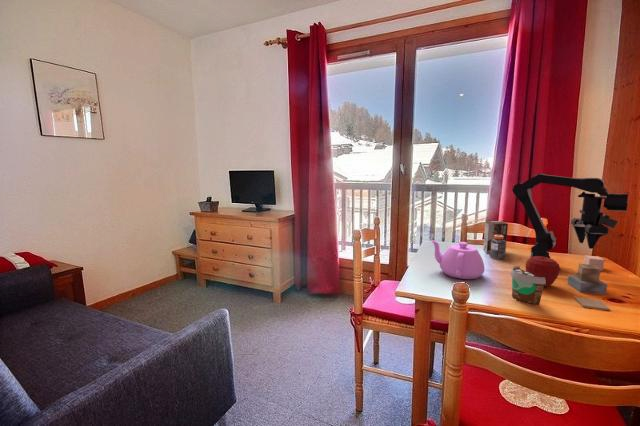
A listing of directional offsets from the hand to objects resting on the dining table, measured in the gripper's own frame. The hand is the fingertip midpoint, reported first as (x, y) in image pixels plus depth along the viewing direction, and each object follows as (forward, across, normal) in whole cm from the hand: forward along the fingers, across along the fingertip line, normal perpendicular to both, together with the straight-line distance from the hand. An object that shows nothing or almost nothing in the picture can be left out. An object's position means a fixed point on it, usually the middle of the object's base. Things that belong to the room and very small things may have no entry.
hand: (585, 245), depth 127 cm
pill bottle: (+12, +11, +30) cm, 34 cm away
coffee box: (+12, +21, +30) cm, 39 cm away
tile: (+12, -34, +9) cm, 37 cm away
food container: (+12, -38, +30) cm, 50 cm away
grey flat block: (+12, -19, +5) cm, 23 cm away
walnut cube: (+8, -19, +5) cm, 21 cm away
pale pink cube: (+12, +9, -7) cm, 17 cm away
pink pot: (+12, -19, +50) cm, 55 cm away
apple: (+12, -21, +20) cm, 32 cm away
